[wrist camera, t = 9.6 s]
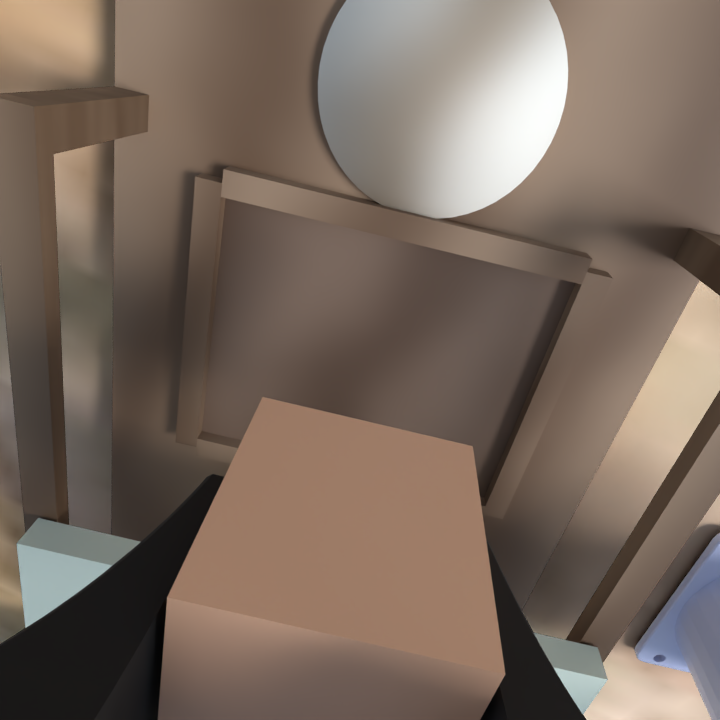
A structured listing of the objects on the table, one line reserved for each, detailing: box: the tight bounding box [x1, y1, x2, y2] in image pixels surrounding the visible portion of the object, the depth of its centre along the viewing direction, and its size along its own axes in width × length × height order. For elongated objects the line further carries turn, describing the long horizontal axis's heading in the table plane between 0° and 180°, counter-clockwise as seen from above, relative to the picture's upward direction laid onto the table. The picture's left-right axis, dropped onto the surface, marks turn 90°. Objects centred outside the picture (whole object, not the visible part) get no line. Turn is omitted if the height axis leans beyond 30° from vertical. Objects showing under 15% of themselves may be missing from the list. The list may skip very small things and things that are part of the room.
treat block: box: [158, 397, 505, 720], centre depth 11 cm, size 4×4×5 cm
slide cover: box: [17, 518, 608, 714], centre depth 18 cm, size 17×10×1 cm, turn 78°
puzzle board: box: [0, 0, 720, 663], centre depth 19 cm, size 18×30×6 cm, turn 167°
